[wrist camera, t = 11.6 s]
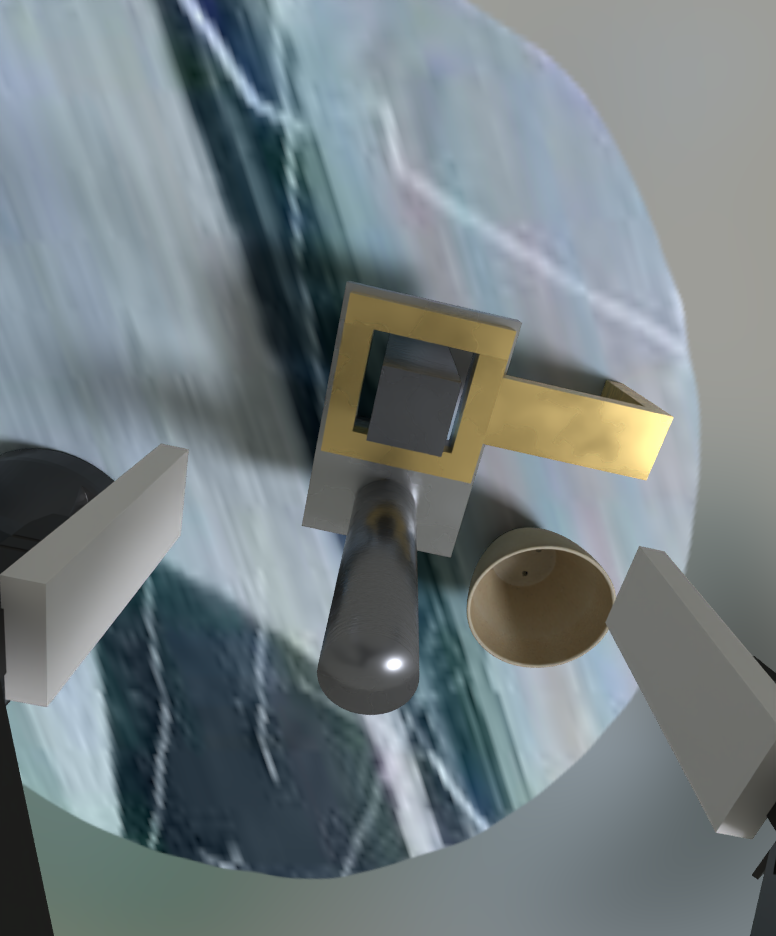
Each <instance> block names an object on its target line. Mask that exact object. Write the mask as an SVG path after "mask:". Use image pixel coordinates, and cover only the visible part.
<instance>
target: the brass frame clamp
mask: <svg viewBox="0 0 776 936" xmlns="http://www.w3.org/2000/svg"><path fill="white" fill-rule="evenodd" d="M521 325H522V323H521V322H520V321H519V320H515V319H511V318H507V317H502V316H498V315H494V314H490V313H485V312H481V311H477V310H472V309H468V308H464V307H460V306H455V305H451V304H447V303H443V302H438V301H434V300H430V299H426V298H421V297H417V296H413V295H409V294H404V293H400V292H396V291H391V290H387V289H383V288H379V287H374V286H370V285H366V284H362V283H357V282H353V281H347V283H346V288H345V294H344V299H343V305H342V310H341V315H340V321H339V326H338V332H337V337H336V343H335V348H334V353H333V359H332V364H331V370H330V375H329V381H328V386H327V392H326V397H325V402H324V408H323V413H322V419H321V424H320V430H319V435H318V441H317V446H316V451H315V457H314V462H313V468H312V473H311V479H310V484H309V490H308V495H307V500H306V506H305V511H304V517H303V522H302V526H305V527H310V528H315V529H319V530H324V531H329V532H333V533H338V534H343V535H347V537H346V541H345V546H344V550H343V555H342V559H341V564H340V568H339V573H338V577H337V582H336V587H335V591H334V596H333V600H332V605H331V609H330V614H329V618H328V623H327V627H326V632H325V636H324V641H323V645H322V650H321V654H320V659H319V663H318V669H317V676H318V681H319V684H320V687H321V689H322V690H323V692H324V693H325V695H326V696H327V697H328V698H329V699H330V700H331V701H332V702H333V703H335V704H336V705H338V706H339V707H341V708H343V709H345V710H348V711H350V712H354V713H358V714H364V715H377V714H384V713H387V712H391V711H393V710H396V709H398V708H399V707H401V706H403V705H404V704H405V703H406V702H408V701H409V700H410V699H411V697H412V696H413V695H414V693H415V691H416V689H417V687H418V683H419V634H418V580H417V550H418V551H422V552H427V553H432V554H436V555H441V556H446V557H450V558H451V555H452V552H453V548H454V545H455V542H456V538H457V535H458V532H459V529H460V525H461V522H462V519H463V515H464V512H465V509H466V506H467V502H468V499H469V496H470V492H471V489H472V486H473V482H474V479H475V476H476V473H477V469H478V466H479V463H480V459H481V456H482V453H483V450H484V446H485V444H486V445H490V446H495V447H499V448H504V449H508V450H513V451H517V452H522V453H526V454H531V455H535V456H539V457H544V458H548V459H553V460H557V461H562V462H566V463H571V464H575V465H580V466H584V467H589V468H593V469H598V470H602V471H607V472H611V473H615V474H620V475H624V476H629V477H633V478H638V479H642V480H647V477H648V475H649V473H650V470H651V468H652V466H653V464H654V461H655V459H656V457H657V454H658V452H659V450H660V447H661V445H662V443H663V440H664V438H665V436H666V433H667V431H668V429H669V426H670V424H671V422H672V419H673V416H671V415H670V414H668V413H667V412H665V411H664V410H662V409H661V408H659V407H657V406H656V405H654V404H653V403H651V402H650V401H648V400H647V399H645V398H644V397H642V396H641V395H639V394H638V393H636V392H635V391H633V390H632V389H630V388H629V387H627V386H626V385H624V384H622V383H618V382H613V381H609V380H606V382H605V385H604V388H603V390H602V393H601V396H596V395H592V394H588V393H583V392H579V391H575V390H570V389H566V388H561V387H557V386H553V385H548V384H544V383H540V382H535V381H531V380H527V379H522V378H518V377H514V376H509V375H506V374H507V371H508V367H509V364H510V361H511V358H512V354H513V351H514V348H515V344H516V341H517V338H518V335H519V331H520V328H521ZM374 330H379V331H383V332H387V333H392V334H396V335H400V336H405V337H409V338H413V339H418V340H422V341H426V342H431V343H435V344H439V345H444V346H448V347H452V348H457V349H461V350H465V351H470V352H474V353H473V357H472V360H471V364H470V367H469V371H468V375H467V378H466V382H465V385H464V389H463V393H462V396H461V400H460V403H459V407H458V411H457V414H456V418H455V421H454V425H453V429H452V432H451V436H450V439H449V440H446V442H445V446H444V449H443V453H442V457H438V456H434V455H429V454H425V453H420V452H416V451H411V450H407V449H402V448H398V447H393V446H389V445H384V444H380V443H375V442H371V441H366V439H367V434H368V430H369V425H370V421H371V418H367V417H363V416H358V415H357V412H358V407H359V402H360V397H361V393H362V388H363V383H364V378H365V373H366V369H367V364H368V359H369V354H370V349H371V345H372V340H373V335H374Z"/></svg>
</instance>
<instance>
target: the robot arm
mask: <svg viewBox="0 0 776 936" xmlns="http://www.w3.org/2000/svg"><path fill="white" fill-rule="evenodd" d="M188 451H189V449H184V448H179V447H175V446H170V445H165V444H160V445H159V446H158V447H156V448H155V449H154V450H153V451H151V452H150V453H149V454H148V455H146V456H145V457H144V458H143V459H142V460H140V461H139V462H138V463H137V464H135V465H134V466H133V467H132V468H130V469H129V470H128V471H127V472H126V473H124V474H123V475H122V476H121V477H119V478H118V479H117V480H116V481H113V480H112V479H111V478H110V477H108V476H107V475H106V474H105V473H103V472H102V471H100V470H99V469H97V468H96V467H94V466H92V465H91V464H89V463H87V462H85V461H83V460H81V459H78V458H76V457H73V456H71V455H68V454H65V453H61V452H57V451H52V450H45V449H22V450H15V451H11V452H7V453H4V454H2V455H0V936H54V934H53V929H52V924H51V919H50V915H49V910H48V905H47V901H46V896H45V891H44V886H43V881H42V877H41V872H40V867H39V862H38V857H37V853H36V848H35V843H34V838H33V834H32V829H31V824H30V819H29V815H28V810H27V805H26V800H25V796H24V791H23V786H22V781H21V777H20V772H19V767H18V762H17V758H16V753H15V748H14V743H13V739H12V734H11V729H10V724H9V719H8V715H7V710H6V705H7V704H8V703H9V702H10V701H17V702H22V703H27V704H33V705H38V706H43V707H48V705H49V704H50V703H51V702H52V700H53V699H54V698H55V696H56V695H57V694H58V693H59V691H60V690H61V689H62V687H63V686H64V685H65V684H66V682H67V681H68V680H69V678H70V677H71V676H72V675H73V673H74V672H75V671H76V669H77V668H78V667H79V665H80V664H81V663H82V662H83V660H84V659H85V658H86V656H87V655H88V654H89V653H90V651H91V650H92V649H93V647H94V646H95V645H96V644H97V642H98V641H99V640H100V638H101V637H102V636H103V635H104V633H105V632H106V631H107V629H108V628H109V627H110V626H111V624H112V623H113V622H114V620H115V619H116V618H117V617H118V615H119V614H120V613H121V611H122V610H123V609H124V607H125V606H126V605H127V604H128V602H129V601H130V600H131V598H132V597H133V596H134V595H135V593H136V592H137V591H138V589H139V588H140V587H141V586H142V584H143V583H144V582H145V580H146V579H147V578H148V577H149V575H150V574H151V573H152V571H153V570H154V569H155V568H156V566H157V565H158V564H159V562H160V561H161V560H162V559H163V557H164V556H165V555H166V553H167V552H168V551H169V550H170V548H171V547H172V546H173V544H174V543H175V542H176V540H177V539H178V538H179V537H180V535H181V526H182V516H183V505H184V494H185V483H186V473H187V462H188ZM605 623H606V625H607V627H608V629H609V631H610V633H611V634H612V636H613V638H614V640H615V642H616V644H617V646H618V648H619V650H620V651H621V653H622V655H623V657H624V659H625V661H626V663H627V665H628V667H629V669H630V670H631V672H632V674H633V676H634V678H635V680H636V682H637V684H638V686H639V688H640V689H641V691H642V693H643V695H644V697H645V699H646V701H647V703H648V705H649V706H650V708H651V710H652V712H653V714H654V716H655V718H656V720H657V722H658V724H659V726H660V727H661V729H662V731H663V733H664V735H665V737H666V739H667V741H668V742H669V744H670V746H671V748H672V750H673V752H674V754H675V756H676V758H677V760H678V762H679V763H680V765H681V767H682V769H683V771H684V773H685V775H686V777H687V778H688V780H689V782H690V784H691V786H692V788H693V790H694V792H695V794H696V795H697V798H698V800H699V801H700V803H701V805H702V807H703V809H704V811H705V812H706V815H707V817H708V818H709V820H710V822H711V824H712V826H713V828H714V830H715V832H716V833H721V834H726V835H732V836H737V837H743V838H748V839H753V838H754V836H755V835H756V833H757V832H758V830H759V829H760V827H761V826H762V825H763V823H764V821H765V820H766V819H767V818H768V819H769V821H770V822H771V824H772V826H773V827H774V829H775V830H776V673H775V672H774V671H772V670H771V669H770V668H768V667H767V666H766V665H765V664H764V663H762V662H761V661H760V660H759V659H757V658H756V657H755V656H752V655H751V654H750V652H749V651H748V650H747V649H746V648H745V647H744V645H743V644H742V643H741V642H740V641H739V639H738V638H737V637H736V636H735V635H734V633H733V632H732V631H731V630H730V629H729V628H728V626H727V625H726V624H725V623H724V622H723V621H722V619H721V618H720V617H719V616H718V615H717V613H716V612H715V611H714V610H713V609H712V607H711V606H710V605H709V604H708V603H707V601H706V600H705V599H704V598H703V597H702V596H701V594H700V593H699V592H698V591H697V590H696V588H695V587H694V586H693V585H692V584H691V582H690V581H689V580H688V579H687V578H686V576H685V575H684V574H683V573H682V572H681V571H680V569H679V568H678V567H677V566H676V565H675V563H674V562H673V561H672V560H671V559H670V557H669V556H668V555H667V554H666V553H665V552H664V551H660V550H655V549H651V548H646V547H641V546H639V548H638V550H637V552H636V555H635V557H634V559H633V561H632V564H631V566H630V568H629V570H628V573H627V575H626V577H625V579H624V582H623V584H622V586H621V588H620V591H619V593H618V595H617V597H616V600H615V602H614V604H613V606H612V609H611V611H610V613H609V615H608V618H607V620H606V622H605ZM762 874H764V877H763V881H762V886H761V890H760V895H759V899H758V903H757V908H756V913H755V917H754V921H753V925H752V930H751V934H750V936H776V842H775V843H774V845H773V846H772V847H771V849H770V850H769V851H768V853H767V854H766V856H765V857H764V859H763V860H762V862H761V863H760V864H759V866H758V867H757V868H756V870H755V871H754V873H753V874H752V876H754V877H755V878H757V879H759V878H760V877H761V876H762Z"/></svg>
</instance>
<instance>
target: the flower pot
mask: <svg viewBox="0 0 776 936" xmlns="http://www.w3.org/2000/svg"><path fill="white" fill-rule="evenodd" d="M526 571H527V574H526V573H525V572H526ZM615 600H616V595H615V590H614V587H613V584H612V582H611V580H610V578H609V576H608V575H607V573H606V572H605V570H604V569H603V568H602V567H601V566H600V564H599V563H598V562H597V561H596V560H595V559H594V558H593V557H592V556H591V555H590V554H588V553H587V552H586V551H585V550H584V549H583V548H581V547H580V546H579V545H577V544H576V543H574V542H573V541H571V540H569V539H567V538H566V537H564V536H562V535H559V534H557V533H555V532H552V531H549V530H545V529H540V528H530V527H528V528H519V529H514V530H511V531H509V532H507V533H505V534H503V535H501V536H500V537H499V538H497V539H496V540H495V541H494V542H493V543H492V544H491V545H490V546H489V547H488V548H487V549H486V551H485V552H484V553H483V555H482V556H481V558H480V560H479V562H478V564H477V566H476V568H475V570H474V573H473V576H472V579H471V583H470V587H469V592H468V599H467V618H468V623H469V627H470V629H471V632H472V633H473V635H474V637H475V638H476V640H477V641H478V643H479V644H480V645H481V646H482V647H483V648H484V649H485V650H486V651H487V652H489V653H490V654H492V655H493V656H494V657H496V658H498V659H500V660H502V661H504V662H507V663H509V664H513V665H517V666H522V667H531V668H541V667H550V666H557V665H561V664H564V663H567V662H569V661H572V660H574V659H577V658H578V657H580V656H582V655H584V654H585V653H587V652H588V651H590V650H591V649H592V648H593V647H595V646H596V645H597V644H598V643H599V642H600V641H601V640H602V638H603V637H604V636H605V635H606V633H607V631H608V630H609V629H608V627H607V625H606V623H605V622H606V620H607V618H608V615H609V613H610V611H611V609H612V606H613V604H614V602H615Z"/></svg>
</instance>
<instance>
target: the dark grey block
mask: <svg viewBox="0 0 776 936" xmlns="http://www.w3.org/2000/svg"><path fill="white" fill-rule="evenodd" d="M461 384H462V383H461V380H460V377H459V374H458V372H457V369H456V366H455V363H454V361H453V358H452V355H451V352H450V350H449V347H448V346H444V345H439V344H435V343H431V342H426V341H422V340H418V339H413V338H409V337H405V336H400V335H396V334H392V333H390V336H389V340H388V345H387V349H386V353H385V357H384V361H383V366H382V370H381V375H380V379H379V384H378V388H377V393H376V398H375V402H374V407H373V411H372V416H371V421H370V425H369V430H368V434H367V439H366V441H371V442H375V443H380V444H384V445H389V446H393V447H398V448H402V449H407V450H411V451H416V452H420V453H425V454H429V455H434V456H438V457H442V453H443V449H444V446H445V442H446V439H447V435H448V431H449V428H450V424H451V420H452V417H453V413H454V409H455V406H456V402H457V399H458V395H459V391H460V388H461Z"/></svg>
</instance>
